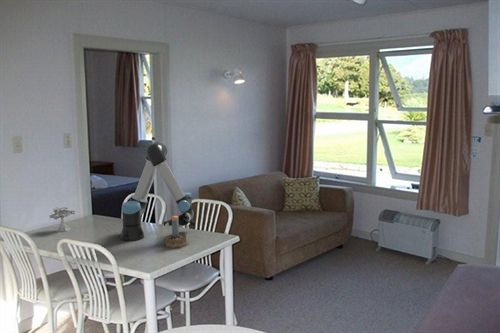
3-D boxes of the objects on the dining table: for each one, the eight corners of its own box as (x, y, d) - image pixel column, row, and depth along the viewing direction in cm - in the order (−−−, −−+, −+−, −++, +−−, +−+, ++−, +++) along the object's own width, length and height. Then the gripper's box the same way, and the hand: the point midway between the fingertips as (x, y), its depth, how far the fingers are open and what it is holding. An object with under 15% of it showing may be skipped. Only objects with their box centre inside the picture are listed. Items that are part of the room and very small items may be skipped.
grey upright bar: (171, 244, 302) (170, 216, 299) (178, 243, 303) (177, 215, 301) (173, 246, 298) (172, 217, 296) (179, 245, 300) (179, 216, 297)
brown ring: (163, 243, 304) (163, 235, 303) (182, 241, 309) (182, 233, 308) (169, 248, 293) (168, 240, 292) (188, 246, 298) (187, 238, 297)
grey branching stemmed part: (51, 234, 328) (49, 210, 326) (47, 229, 342) (45, 206, 340) (78, 231, 337) (77, 207, 335) (74, 226, 351) (72, 203, 349)
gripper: (202, 224, 321) (196, 233, 300) (165, 224, 323) (156, 232, 302) (202, 213, 320) (196, 221, 299) (165, 213, 322) (156, 221, 301)
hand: (176, 227), depth 300 cm, fingers open, 13 cm apart
